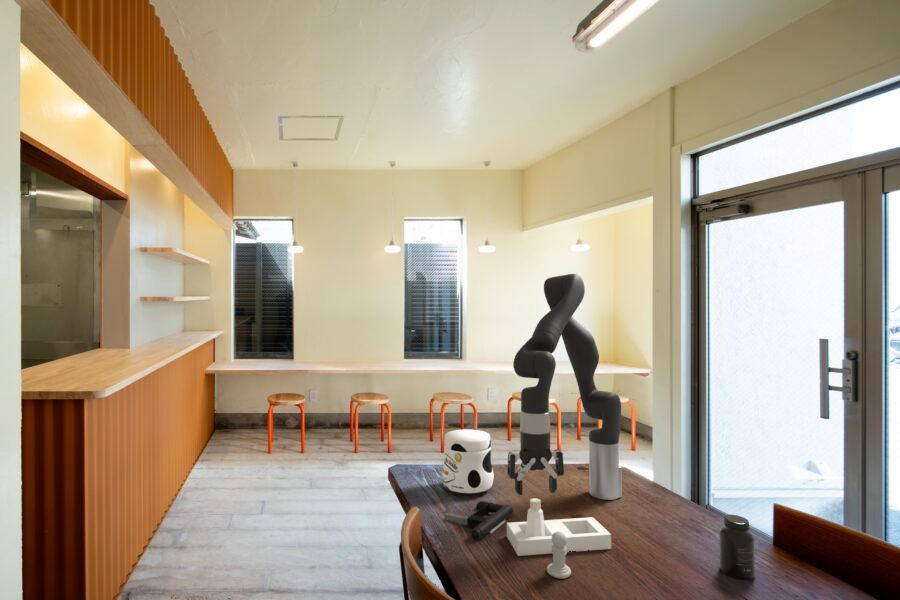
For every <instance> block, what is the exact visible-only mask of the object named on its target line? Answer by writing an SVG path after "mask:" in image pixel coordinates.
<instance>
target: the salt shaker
mask: <svg viewBox="0 0 900 600" xmlns="http://www.w3.org/2000/svg"><path fill="white" fill-rule="evenodd" d="M541 504H542V500H541V499H540V498H530V499H529V508H528V509H527V514H526V515H527V517H526V522H527V524H526V534H525V536H526V537H540V536H545V527H544V520H545V518H544V511H543V509H542V508H541V507H542V505H541Z"/></svg>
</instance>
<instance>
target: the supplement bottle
mask: <svg viewBox="0 0 900 600" xmlns="http://www.w3.org/2000/svg"><path fill="white" fill-rule="evenodd" d="M723 520H724V521H723V526H722V527H721V528H720V529H719V533H718V534H719V536H718V537H719V540H718V541H719V546H718V547H719V567H720V569H721V571H722V572H723V573H724V574H726V575H728V576H729V577H731V578H734V579H736V580H743V581H749V580H753V578H755V576H756V553H755V551H756V549H755V547H756V545H755V544H756V543H755V537H754V536H753V534H752V533H751V532H750V522H749V520H748V519H747V518H745V517H744V516H741V515H737V514H726V515H724V517H723Z"/></svg>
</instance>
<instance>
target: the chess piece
mask: <svg viewBox="0 0 900 600" xmlns="http://www.w3.org/2000/svg"><path fill="white" fill-rule="evenodd" d="M552 543H553V545H552V553H551V554H552V562H551V563H550V564H548V565H547V567H546V572H547V573H548V575H550V577H552V578H555V579H563V580H564V579H567V578H569V577H571V575H572V571H571V567H569V566H568V565H567V564H566V556H567V553H568V552H566V550H567V548H566V546H565V545H566V543H567V539H566V536H565V535H564V534H563V533H562V532H555V533H554V534H553V535H552Z"/></svg>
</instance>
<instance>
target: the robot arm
mask: <svg viewBox="0 0 900 600" xmlns="http://www.w3.org/2000/svg"><path fill="white" fill-rule="evenodd" d="M585 289H586V288H585V283H584V281H583V278H582V277H581V275H579V274H577V273H568V274H563V275H557V276H551V277H548V278H546V279H545V280H544V283H543V293H544V296H545V300H546V302H547V305H548V307H549V311H548V312H547V313H546V314H544V316H543V317H541V318H540V320H539V321H538V322H537V324H536V326H535V329H534V331H533V332H532V335H531V337H530V338H529V339H528V340H526V342H525V343H524V344H523V345H522V346H521V347H520V348H519V349H518V351H517V352H516V354H515V356H514V359H513V364H512V366H513V371H514V372H515V374H516V375H517V376H519V377H521V378H526V379H527V378H528V379H538V381H537V383H536V385H535V386H528V387H524V388H523V389H521V392H520V420H519V424H520V427H519V429H520V432H519V435H520V440H519V442H520V451H519V452H518V453H516V452H514V453H513V452H512V451H509V452H508V455H507V472H506V473H507V476H508V477H509V478H510V479H511V480H513V479H514V490H515V492H516V493H517V494H518V496H523V480H522V479H523V478H524V476H525V475H526V474H528V472H529V470H530V471H536V470H538V471H544V470H546V471H547V473H548V474H549V476H548V490H549V492H550V493H551V494H555V493H556V491H557V489H558V487H557V486H558V485H557V484H558V481H557V479H558V478H559V477H560V476H564V474H565V468H564V466H565V464H564V453H563V452H562V451H561V450H559V449H558V448H557V449H555V450H551V417H550V392H551V387H552V382H553V379H554V375H555V371H556V366H557V363H556V359H555V356H554V355H553V353H554V352H555V350H556V349H557V346H558V343H559V341H560V339H561V338H562V340H563V344H564V347H565V350H566V354H567V356H568V359H569V363H570V365H571V367H572V370H573V373H574V376H575V379H576V383H577V387H578V391H579V397H580V400H581V404H582V407H583V411H584V412H585V414H586V415H587V416H588V417H589V418H591V419H594V420H601V421H602V427H600V428H599V427H598V428H595V429H592V430H589V432H588V443H589V444H588V448H589V449H588V459H589V460H588V463H589V464H588V467H589V468H588V475H589V476H588V477H589V478H588V479H589V481H588V482H589V485H588V490H589V492H588V493H589V495H590V496H591V497H593V498H595V499H596V498H597V499H599V500H605V501H607V500H608V501H611V500H612V501H613V500H617V499H619V498H622V497H623V476H622V475H623V474H622V473H623V472H622V471H623V470H622V469H623V468H622V466H621V465H620V439H619V438H620V434H621V422H622V421H621V420H622V419H621V417H622V401H621V397H620V396H619V395H618V394H617V393H616V392H612V391H611V392H610V391H604V390H599V389H598V388H597V386H596V384H595V381H594V380H595V378H594V377H595V376H594V375H595V373H596V371H597V368H598V365H599V361H600V353H599V350H598V347H597V344H596V341H595V339H594V336H593V335H592V334H591V332H590V331H589V330H587V329H586V328H585V327H584V326H583V325H582V324H581V323H580V322H578V321H577V320H576V319H575V318H574V317H573V316H574V314H575V312H576V311H577V309H578V308H579V307H580V305H581V304H582V302H583V299H584V297H585V293H586V292H585V291H586V290H585ZM552 458H553V459H554V461H555V463H554V464H555V469H554V467H552V465H550V463H549V462H550V460H551V459H552ZM518 460H521V462H520V463H519V466H518V467H517V470H516V463H517V462H518Z"/></svg>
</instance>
